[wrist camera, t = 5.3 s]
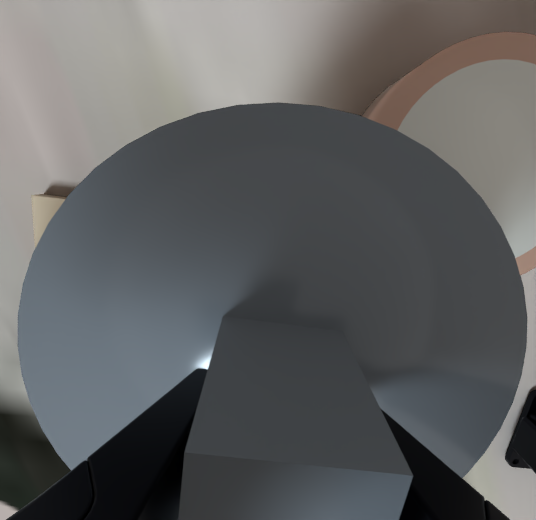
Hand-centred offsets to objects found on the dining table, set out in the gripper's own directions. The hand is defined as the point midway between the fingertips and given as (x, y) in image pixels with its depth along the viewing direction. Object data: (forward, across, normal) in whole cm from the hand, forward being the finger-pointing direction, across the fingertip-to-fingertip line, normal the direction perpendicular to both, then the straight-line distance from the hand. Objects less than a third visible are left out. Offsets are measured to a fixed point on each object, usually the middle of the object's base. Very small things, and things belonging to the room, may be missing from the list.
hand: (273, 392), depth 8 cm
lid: (+2, 0, 0) cm, 2 cm away
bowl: (+13, -9, -6) cm, 17 cm away
